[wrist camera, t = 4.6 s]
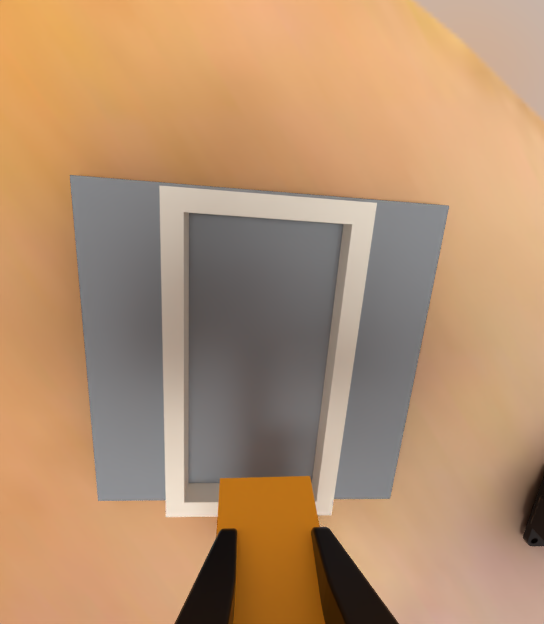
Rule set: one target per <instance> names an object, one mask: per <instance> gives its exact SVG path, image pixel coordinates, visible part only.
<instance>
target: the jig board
mask: <svg viewBox="0 0 544 624" xmlns="http://www.w3.org/2000/svg"><path fill="white" fill-rule="evenodd" d="M70 183H71V194H72V206H73V217H74V229H75V240H76V252H77V263H78V275H79V286H80V298H81V309H82V321H83V332H84V344H85V355H86V367H87V378H88V390H89V401H90V413H91V424H92V436H93V447H94V459H95V470H96V482H97V493H98V501H132V500H166V517H218V501H219V484H220V478H250V477H288V476H310V479H311V484H312V489H313V495H314V500H315V505H316V510H317V515H331V514H332V508H333V501H334V499H390V496H391V491H392V486H393V481H394V476H395V471H396V466H397V462H398V457H399V452H400V447H401V442H402V437H403V432H404V427H405V422H406V417H407V412H408V407H409V402H410V397H411V392H412V387H413V382H414V377H415V372H416V367H417V363H418V358H419V353H420V348H421V343H422V338H423V333H424V328H425V323H426V318H427V313H428V308H429V303H430V298H431V293H432V288H433V283H434V278H435V273H436V268H437V263H438V259H439V254H440V249H441V244H442V239H443V234H444V229H445V224H446V219H447V214H448V209H449V206H446V205H434V204H421V203H409V202H397V201H384V200H372V199H360V198H347V197H335V196H323V195H310V194H298V193H286V192H273V191H261V190H248V189H236V188H224V187H211V186H199V185H187V184H174V183H162V182H150V181H137V180H125V179H113V178H100V177H88V176H76V175H70Z"/></svg>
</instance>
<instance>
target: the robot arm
mask: <svg viewBox="0 0 544 624" xmlns="http://www.w3.org/2000/svg"><path fill="white" fill-rule="evenodd" d="M311 536H312V543H313V550H314V557H315V564H316V571H317V578H318V585H319V592H320V599H321V605H322V611H323V616H324V620H325V624H399V623H398V622H397V620H396V619H395V618H394V616H393V615H392V614H391V612H390V611H389V609H388V608H387V607H386V605H385V604H384V603H383V601H382V600H381V599H380V597H379V596H378V594H377V593H376V592H375V590H374V589H373V588H372V586H371V585H370V584H369V582H368V581H367V579H366V578H365V577H364V575H363V574H362V573H361V571H360V570H359V569H358V567H357V566H356V564H355V563H354V562H353V560H352V559H351V558H350V556H349V555H348V554H347V552H346V551H345V549H344V548H343V547H342V545H341V544H340V543H339V541H338V540H337V538H336V537H335V536H334V534H333V533H332V532H331V530H330V529H329V528H327V527H313V528H312V531H311ZM523 539H524V540H525V541H526V543H527V544H528V545H529V546H544V477H543V480H542V483H541V486H540V489H539V492H538V495H537V498H536V500H535V503H534V506H533V509H532V512H531V515H530V518H529V521H528V523H527V526H526V529H525V532H524V535H523ZM236 559H237V530H236V529H235V528H223V529H221V530H220V531H219V533H218V535H217V537H216V539H215V542H214V544H213V546H212V548H211V550H210V552H209V554H208V556H207V558H206V560H205V562H204V564H203V566H202V568H201V570H200V572H199V574H198V577H197V579H196V581H195V583H194V585H193V587H192V589H191V591H190V593H189V595H188V597H187V599H186V601H185V603H184V605H183V607H182V609H181V612H180V614H179V616H178V618H177V620H176V622H175V624H233V618H234V606H235V586H236Z"/></svg>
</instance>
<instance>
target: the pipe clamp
mask: <svg viewBox="0 0 544 624" xmlns="http://www.w3.org/2000/svg"><path fill="white" fill-rule="evenodd" d="M313 527H320V526H319V521H318V516H317V510H316V505H315V500H314V495H313V489H312V484H311V479H310V476H288V477H250V478H220V484H219V501H218V518H217V535H218V533H219V531H220V530H221V529H223V528H235V529H236V530H237V559H236V586H235V606H234V618H233V624H325V620H324V616H323V611H322V605H321V599H320V592H319V585H318V578H317V571H316V564H315V557H314V550H313V543H312V536H311V531H312V528H313ZM217 535H216V537H217Z"/></svg>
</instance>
